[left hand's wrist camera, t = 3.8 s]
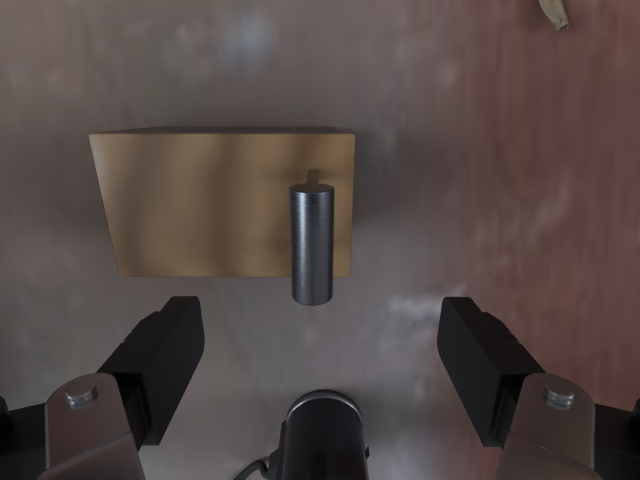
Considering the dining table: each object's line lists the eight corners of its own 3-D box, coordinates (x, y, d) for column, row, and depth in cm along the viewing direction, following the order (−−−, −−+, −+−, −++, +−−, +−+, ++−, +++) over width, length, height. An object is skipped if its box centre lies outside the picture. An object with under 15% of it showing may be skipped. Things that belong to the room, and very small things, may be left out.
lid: (353, 132, 23) (371, 144, 15) (348, 269, 27) (362, 340, 18) (99, 132, 23) (-23, 143, 15) (128, 269, 27) (42, 340, 18)
